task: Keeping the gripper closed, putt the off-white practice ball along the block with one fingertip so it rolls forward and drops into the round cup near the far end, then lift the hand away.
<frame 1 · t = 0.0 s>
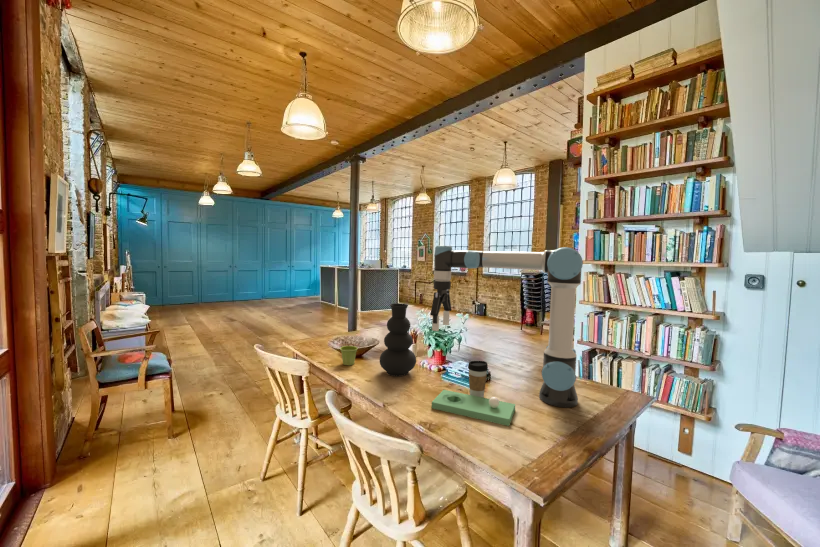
hand: (440, 327, 155), 28 cm above the table, fingers open, 13 cm apart
ball: (494, 402, 134), point 4 cm above the table, touching block
plant pot: (348, 364, 189), on the table
block: (473, 409, 138), on the table
coffee cup: (476, 396, 150), on the table
vase: (397, 373, 176), on the table
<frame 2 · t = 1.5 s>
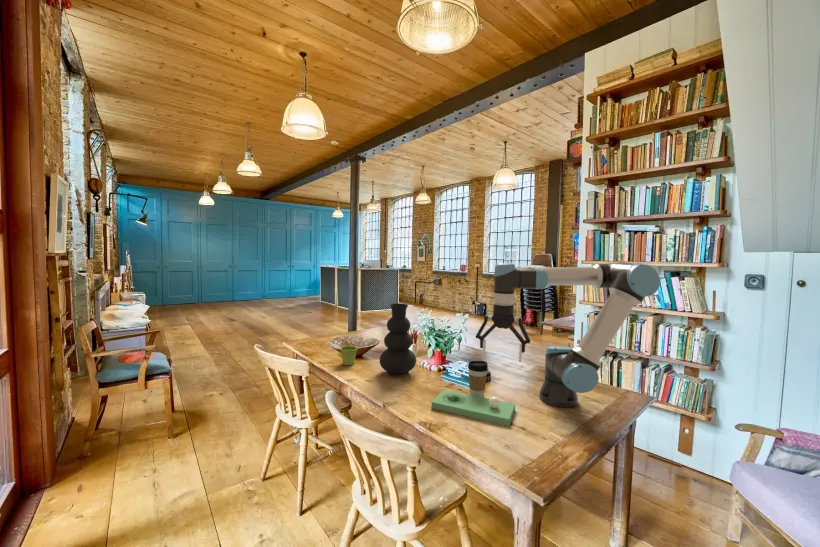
hand: (501, 358, 134), 21 cm above the table, fingers open, 13 cm apart
nothing on the table moved.
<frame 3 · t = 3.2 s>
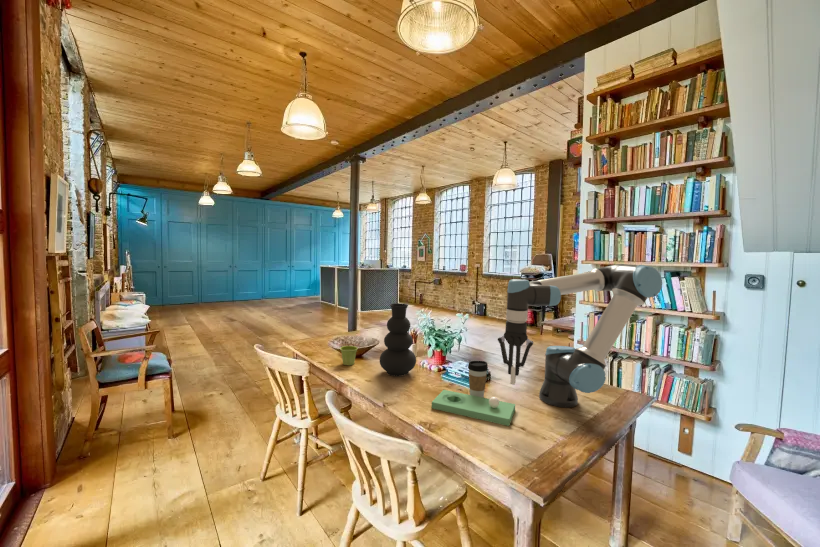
hand: (512, 383, 130), 13 cm above the table, fingers closed
nothing on the table moved.
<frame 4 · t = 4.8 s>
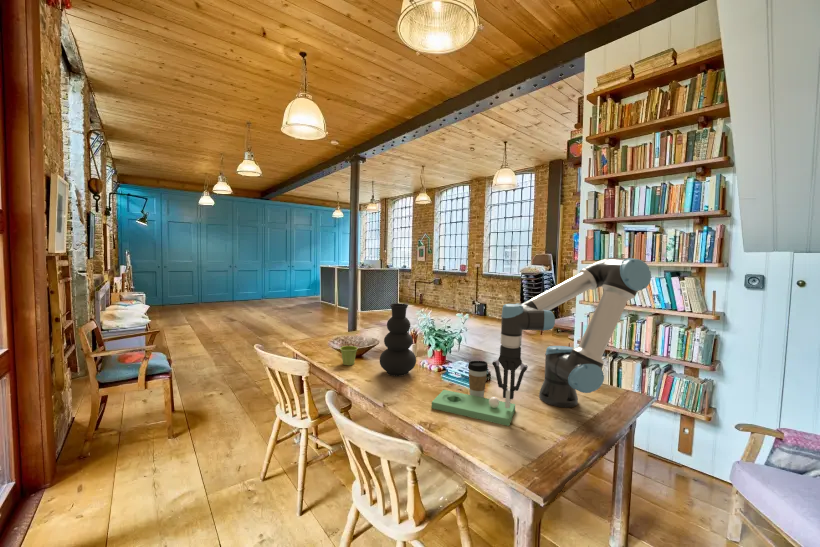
hand: (507, 406, 132), 4 cm above the table, fingers closed
nothing on the table moved.
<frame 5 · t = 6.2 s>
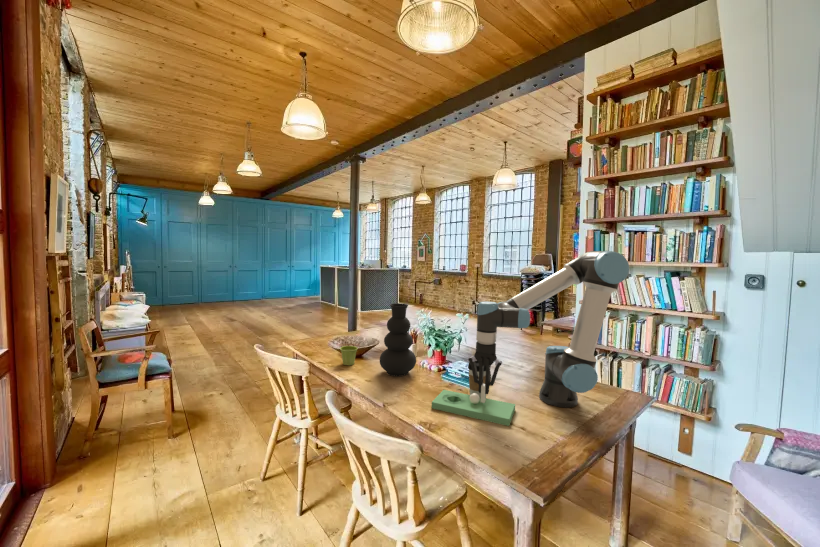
hand: (483, 401, 136), 4 cm above the table, fingers closed
ball: (474, 398, 137), point 4 cm above the table, tilted 145°, touching block
everything else where it was.
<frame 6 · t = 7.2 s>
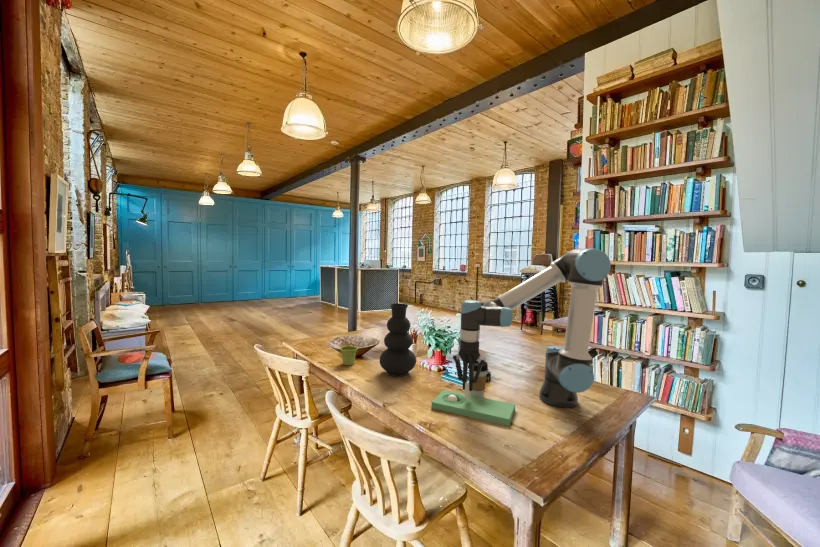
hand: (467, 398, 139), 4 cm above the table, fingers closed
ball: (452, 399, 141), point 2 cm above the table, tilted 148°
everything else where it was.
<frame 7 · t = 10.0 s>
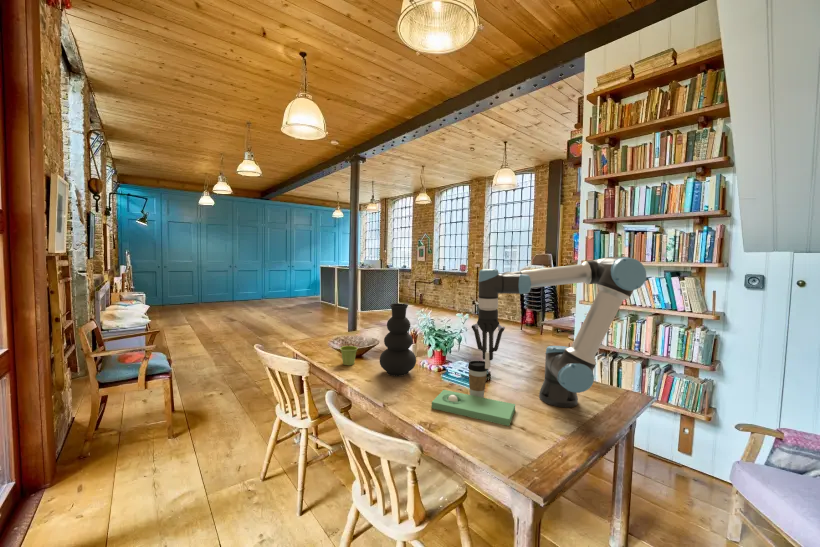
hand: (487, 367, 137), 17 cm above the table, fingers closed
nothing on the table moved.
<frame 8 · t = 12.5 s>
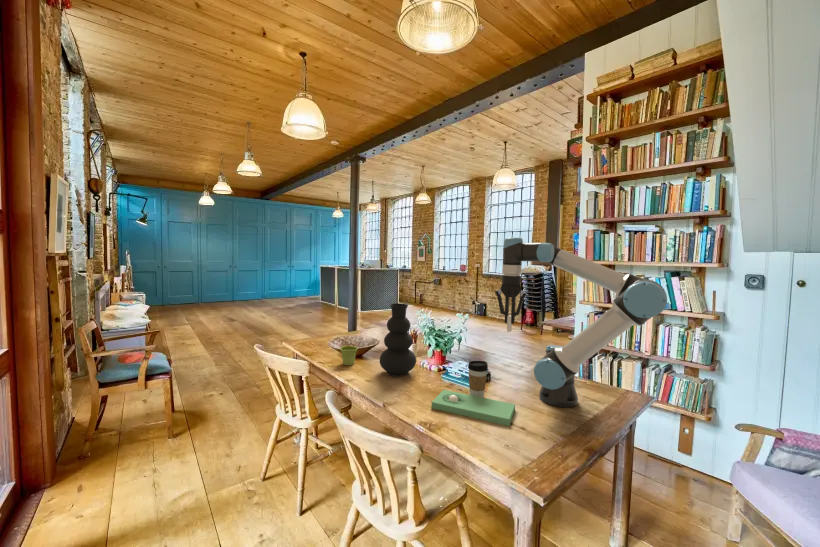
hand: (509, 331, 146), 29 cm above the table, fingers closed
ball: (453, 400, 141), point 2 cm above the table, tilted 137°
everything else where it was.
at the end: ball 0.3 cm from the target spot in the block, point 2.0 cm above the block's base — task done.
